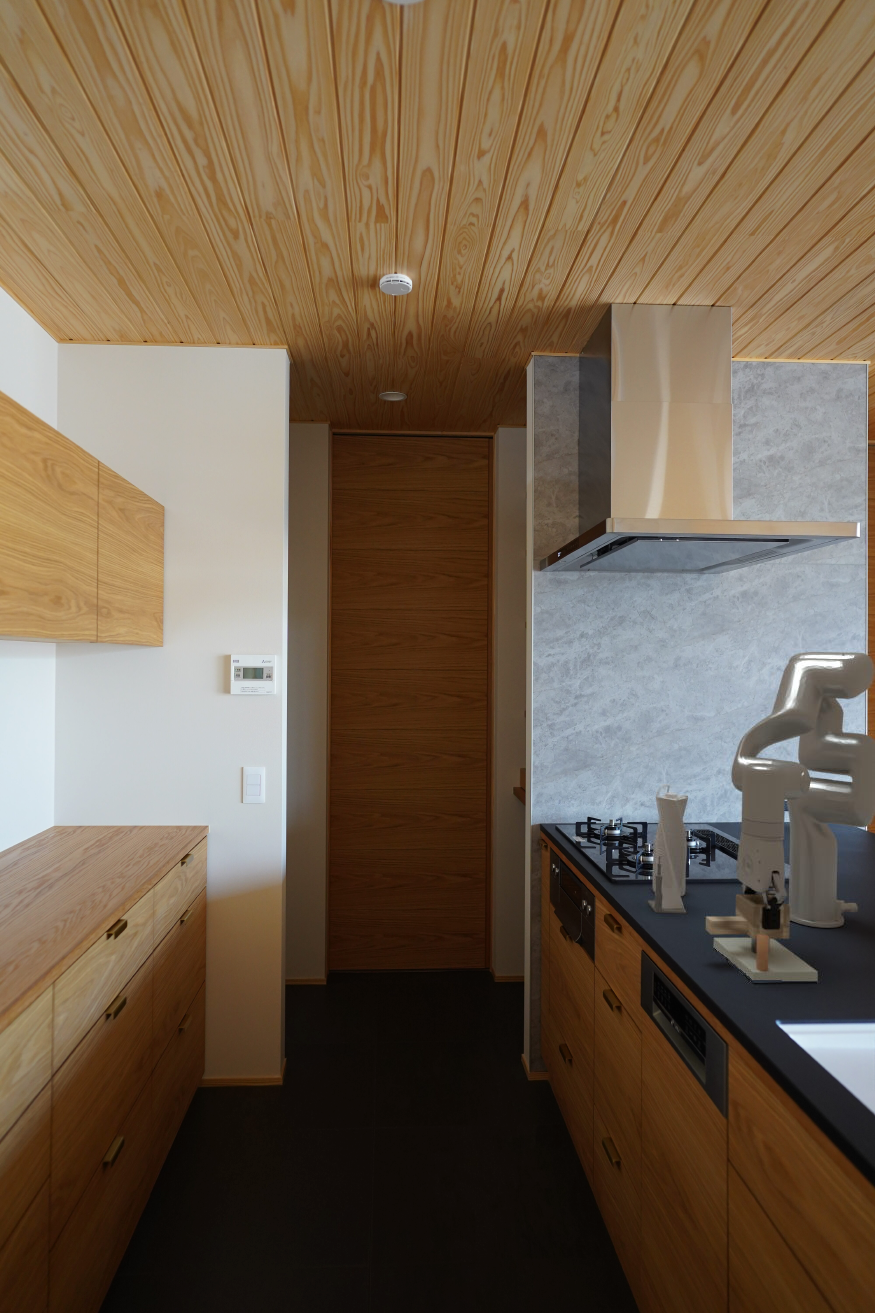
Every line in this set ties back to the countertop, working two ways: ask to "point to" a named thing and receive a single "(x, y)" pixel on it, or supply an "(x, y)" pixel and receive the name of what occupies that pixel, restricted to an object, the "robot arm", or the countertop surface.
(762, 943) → the dowel
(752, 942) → the post
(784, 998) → the countertop surface
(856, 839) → the countertop surface
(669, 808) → the skyscraper
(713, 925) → the open wooden box
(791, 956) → the board
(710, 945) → the countertop surface
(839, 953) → the countertop surface
